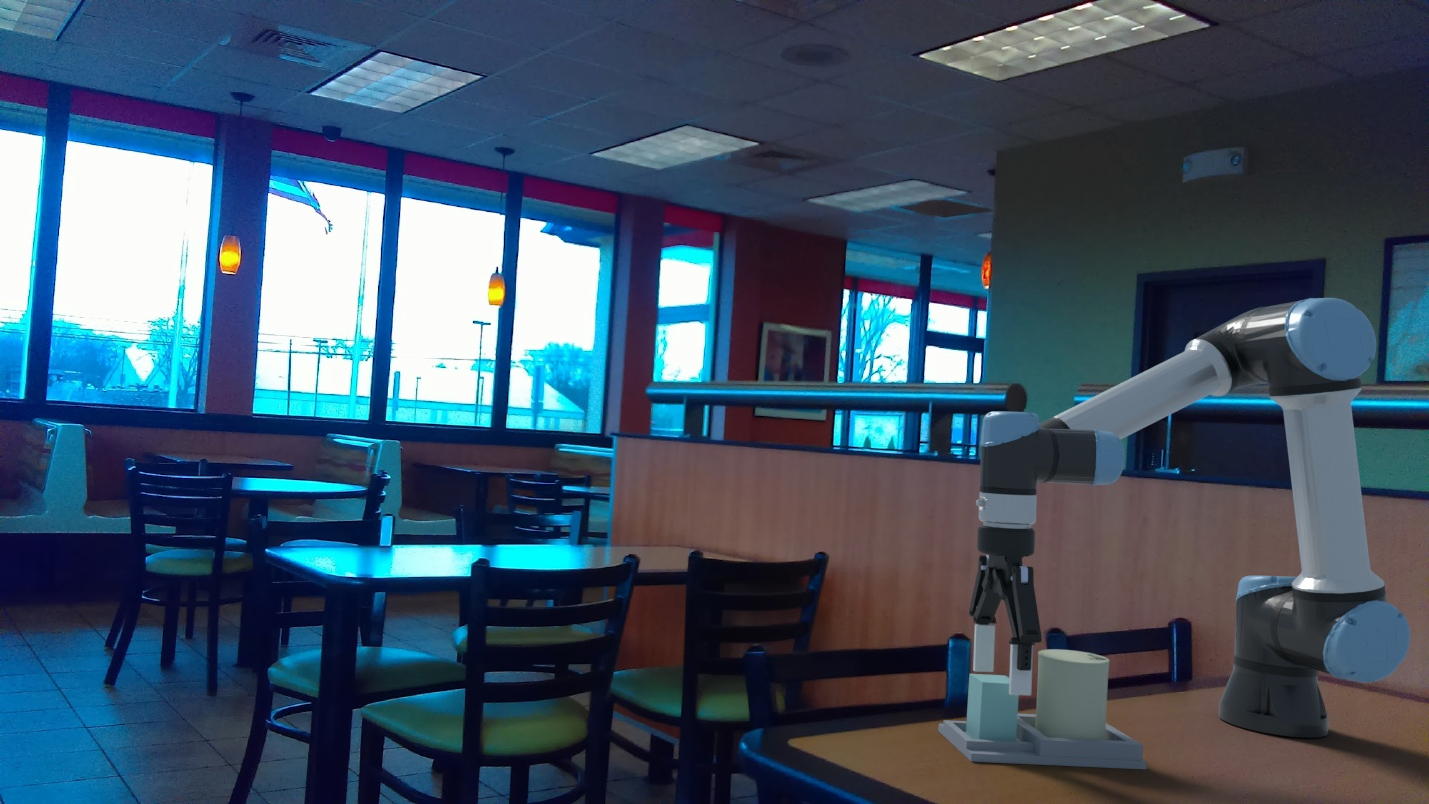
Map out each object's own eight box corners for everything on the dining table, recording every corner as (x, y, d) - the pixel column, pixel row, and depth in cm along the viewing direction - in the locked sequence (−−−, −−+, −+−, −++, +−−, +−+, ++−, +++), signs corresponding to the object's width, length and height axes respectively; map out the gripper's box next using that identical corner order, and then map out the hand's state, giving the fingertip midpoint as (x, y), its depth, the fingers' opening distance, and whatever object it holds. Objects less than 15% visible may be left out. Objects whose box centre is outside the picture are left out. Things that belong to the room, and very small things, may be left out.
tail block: (965, 733, 146) (969, 673, 146) (1001, 735, 146) (1005, 675, 146) (978, 744, 141) (982, 682, 141) (1015, 745, 141) (1019, 684, 142)
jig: (1097, 738, 152) (1099, 717, 152) (1146, 769, 138) (1147, 745, 138) (938, 730, 150) (939, 709, 150) (970, 761, 136) (972, 737, 136)
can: (1113, 755, 139) (1118, 661, 140) (1040, 749, 140) (1045, 656, 141) (1096, 736, 149) (1100, 648, 149) (1027, 730, 150) (1032, 643, 150)
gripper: (950, 516, 159) (944, 662, 158) (1014, 532, 134) (1008, 705, 134) (999, 518, 160) (994, 663, 159) (1072, 534, 135) (1066, 706, 134)
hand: (1000, 682), depth 146 cm, fingers open, 13 cm apart
